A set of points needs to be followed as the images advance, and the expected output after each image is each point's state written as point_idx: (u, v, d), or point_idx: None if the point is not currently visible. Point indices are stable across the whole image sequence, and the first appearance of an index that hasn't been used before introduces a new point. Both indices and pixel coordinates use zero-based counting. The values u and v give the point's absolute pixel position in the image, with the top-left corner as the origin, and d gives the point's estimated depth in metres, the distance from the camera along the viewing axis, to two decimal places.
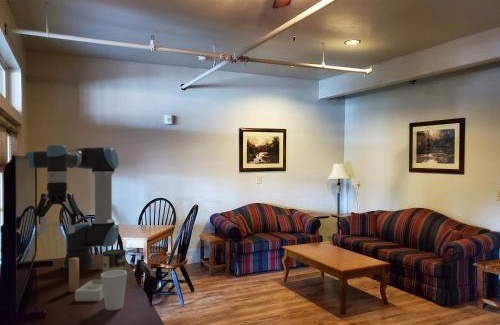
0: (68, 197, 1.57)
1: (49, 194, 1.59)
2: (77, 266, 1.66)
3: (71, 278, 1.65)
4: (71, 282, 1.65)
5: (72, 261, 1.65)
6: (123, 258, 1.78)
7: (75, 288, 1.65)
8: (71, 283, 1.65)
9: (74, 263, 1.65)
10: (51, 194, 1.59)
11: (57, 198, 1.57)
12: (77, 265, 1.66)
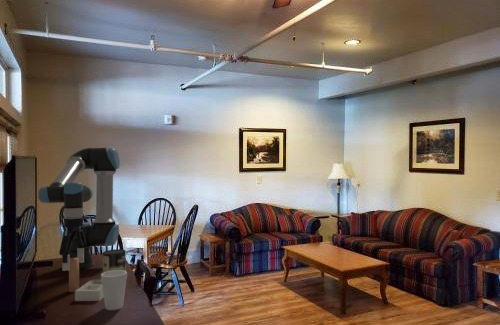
0: None
1: None
2: (77, 266, 1.66)
3: (71, 278, 1.65)
4: (71, 282, 1.65)
5: (72, 261, 1.65)
6: (123, 258, 1.78)
7: (75, 288, 1.65)
8: (71, 283, 1.65)
9: (74, 263, 1.65)
10: None
11: None
12: (77, 265, 1.66)
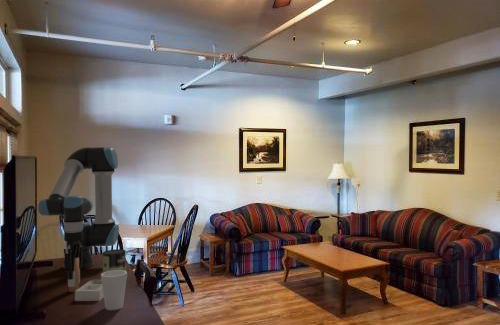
0: None
1: None
2: (77, 266, 1.66)
3: None
4: None
5: None
6: (123, 258, 1.78)
7: (75, 288, 1.65)
8: None
9: (74, 263, 1.65)
10: None
11: None
12: (77, 265, 1.66)
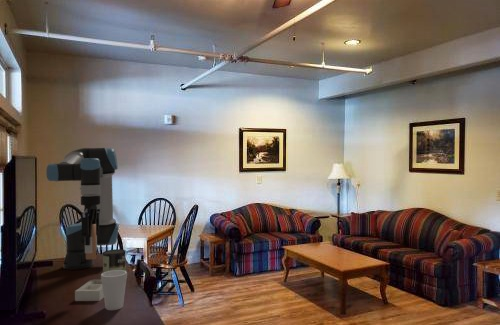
0: None
1: None
2: (94, 232, 1.58)
3: None
4: None
5: None
6: (123, 258, 1.78)
7: (92, 255, 1.57)
8: None
9: (91, 229, 1.57)
10: None
11: None
12: (94, 231, 1.58)
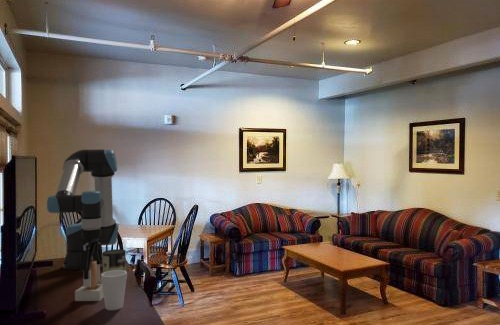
0: None
1: None
2: (95, 270, 1.57)
3: None
4: (89, 287, 1.56)
5: (90, 265, 1.56)
6: (123, 258, 1.78)
7: None
8: (89, 288, 1.56)
9: (92, 267, 1.56)
10: None
11: None
12: (95, 268, 1.57)
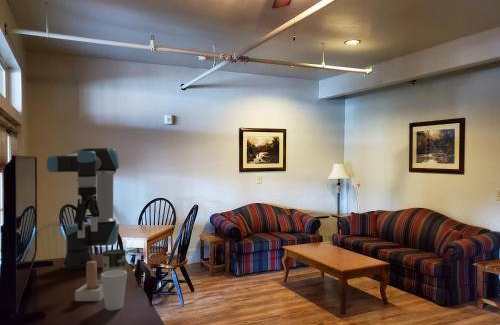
0: None
1: None
2: (95, 270, 1.57)
3: (89, 283, 1.56)
4: (89, 287, 1.56)
5: (90, 265, 1.56)
6: (123, 258, 1.78)
7: None
8: (89, 288, 1.56)
9: (92, 267, 1.56)
10: None
11: None
12: (95, 269, 1.57)
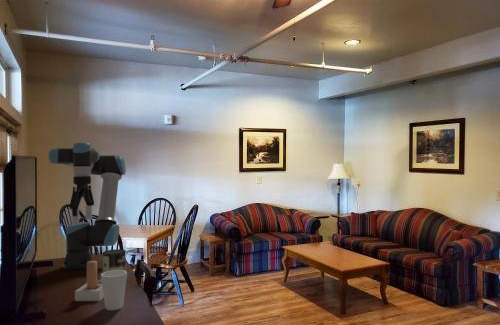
0: None
1: None
2: (95, 270, 1.58)
3: (89, 282, 1.56)
4: (89, 287, 1.56)
5: (90, 264, 1.57)
6: (123, 258, 1.78)
7: None
8: (89, 288, 1.56)
9: (93, 266, 1.57)
10: None
11: None
12: (96, 268, 1.58)
